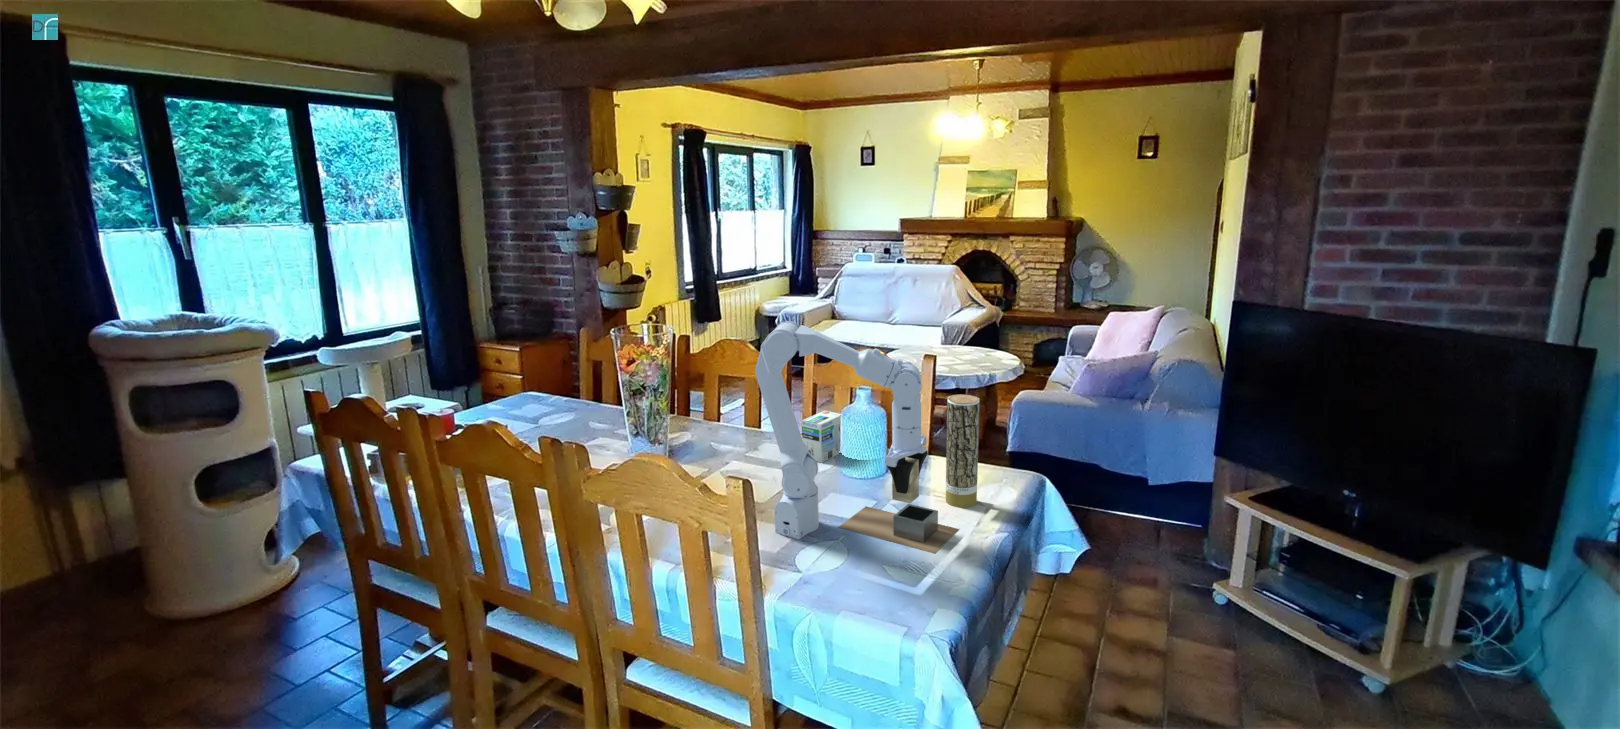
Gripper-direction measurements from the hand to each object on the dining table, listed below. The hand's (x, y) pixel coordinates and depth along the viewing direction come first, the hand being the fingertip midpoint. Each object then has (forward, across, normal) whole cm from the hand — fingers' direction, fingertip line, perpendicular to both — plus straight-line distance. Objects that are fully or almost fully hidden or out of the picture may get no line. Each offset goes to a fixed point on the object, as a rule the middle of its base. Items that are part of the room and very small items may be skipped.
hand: (906, 488), depth 151 cm
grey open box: (+9, 0, -2) cm, 9 cm away
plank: (+10, 0, +2) cm, 10 cm away
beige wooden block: (+2, 0, 0) cm, 2 cm away
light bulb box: (+10, +31, +40) cm, 51 cm away
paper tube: (+11, +19, -4) cm, 22 cm away
